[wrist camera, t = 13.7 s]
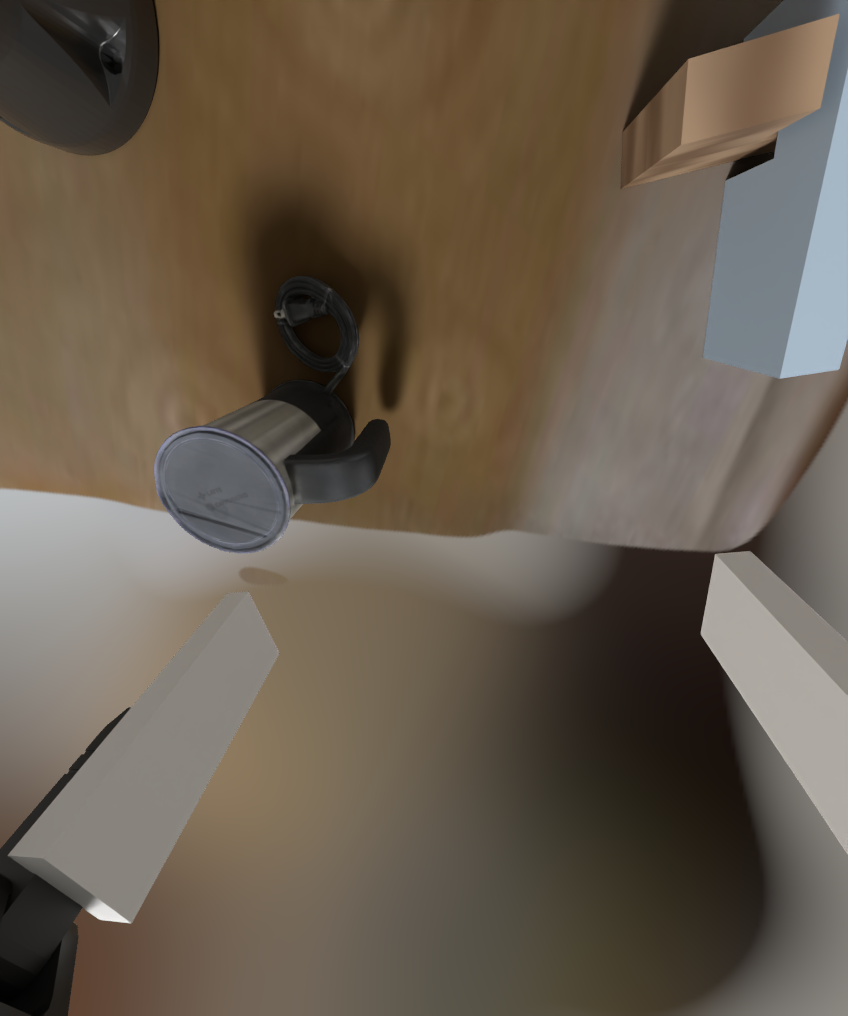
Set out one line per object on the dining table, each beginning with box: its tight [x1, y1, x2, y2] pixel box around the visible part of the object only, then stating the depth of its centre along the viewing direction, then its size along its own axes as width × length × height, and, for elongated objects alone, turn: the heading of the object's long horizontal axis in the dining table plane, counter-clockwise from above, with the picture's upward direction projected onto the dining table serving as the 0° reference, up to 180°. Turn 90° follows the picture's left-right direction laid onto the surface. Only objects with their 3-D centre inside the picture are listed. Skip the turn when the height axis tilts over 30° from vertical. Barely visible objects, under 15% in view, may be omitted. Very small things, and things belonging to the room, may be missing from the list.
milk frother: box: [154, 276, 391, 553], centre depth 29 cm, size 14×16×15 cm
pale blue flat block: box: [703, 0, 848, 379], centre depth 23 cm, size 18×3×9 cm, turn 11°
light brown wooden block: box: [621, 14, 840, 189], centre depth 21 cm, size 16×3×9 cm, turn 101°
